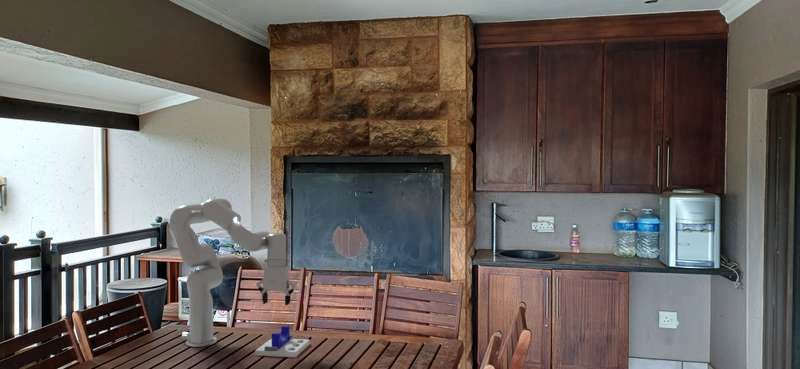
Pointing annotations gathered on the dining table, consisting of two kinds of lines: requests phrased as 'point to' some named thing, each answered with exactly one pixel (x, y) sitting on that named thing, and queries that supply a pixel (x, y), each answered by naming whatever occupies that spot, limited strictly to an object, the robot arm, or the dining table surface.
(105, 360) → the dining table surface
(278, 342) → the cable clip
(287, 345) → the white square board
